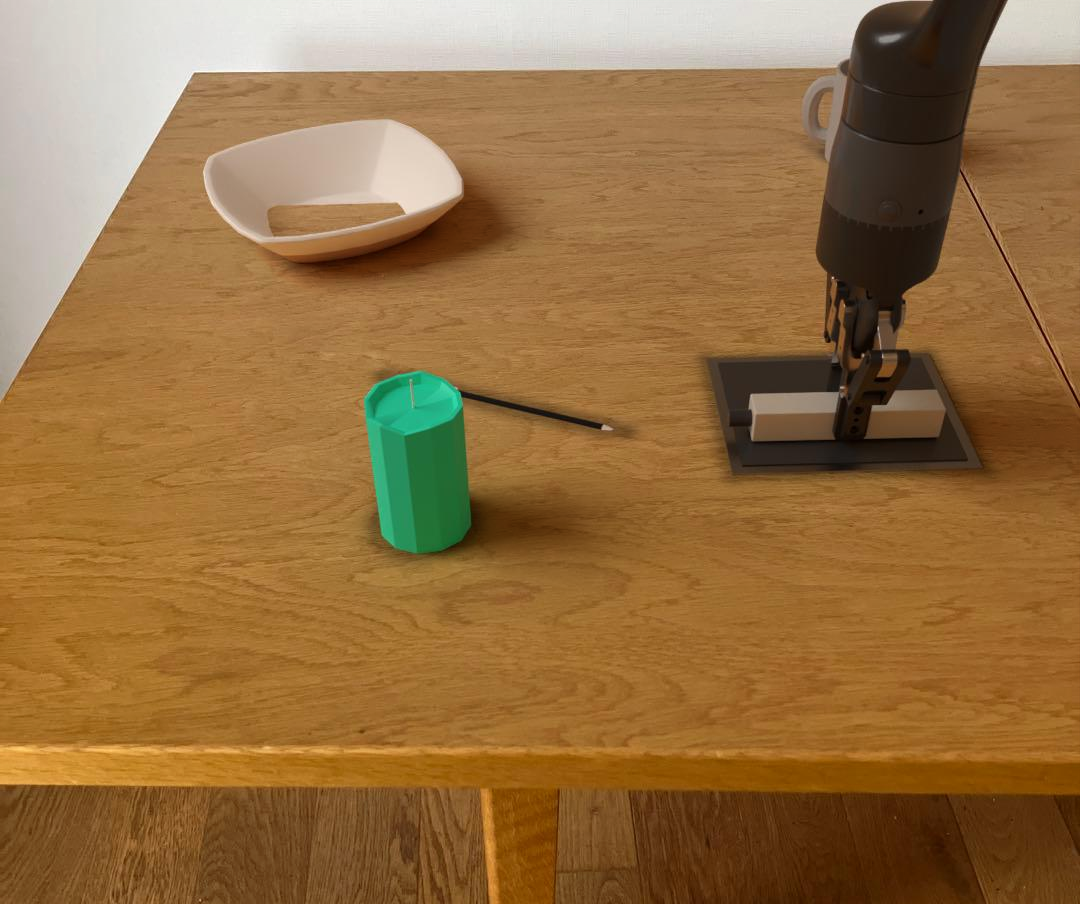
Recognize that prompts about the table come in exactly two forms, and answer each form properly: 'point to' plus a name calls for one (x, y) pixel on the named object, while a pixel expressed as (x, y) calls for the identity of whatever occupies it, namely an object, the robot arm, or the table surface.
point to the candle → (419, 461)
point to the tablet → (830, 456)
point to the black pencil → (534, 411)
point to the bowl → (334, 184)
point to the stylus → (817, 412)
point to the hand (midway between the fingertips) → (843, 423)
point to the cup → (838, 89)
